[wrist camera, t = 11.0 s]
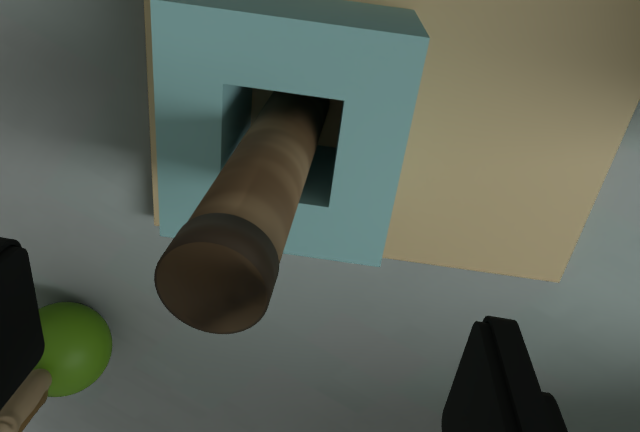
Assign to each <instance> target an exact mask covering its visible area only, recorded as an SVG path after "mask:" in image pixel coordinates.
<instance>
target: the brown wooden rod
mask: <svg viewBox="0 0 640 432" xmlns="http://www.w3.org/2000/svg"><path fill="white" fill-rule="evenodd" d="M329 102H330V101H329V98H322V97H315V96H307V95H300V94H293V93H286V92H279V91H273V93H272V94H271V96H270V97H269V99H268V100H267V102H266V103H265V105H264V107H263V108H262V110H261V111H260V113H259V114H258V116H257V117H256V119H255V120H254V122H253V123H252V125H251V126H250V128H249V129H248V131H247V132H246V134H245V135H244V137H243V138H242V140H241V141H240V143H239V144H238V146H237V147H236V149H235V150H234V152H233V153H232V155H231V156H230V158H229V159H228V161H227V162H226V164H225V166H224V167H223V169H222V170H221V172H220V173H219V175H218V176H217V178H216V179H215V181H214V182H213V184H212V185H211V187H210V188H209V190H208V191H207V193H206V194H205V196H204V197H203V199H202V200H201V202H200V203H199V205H198V206H197V208H196V209H195V211H194V212H193V214H192V215H191V217H190V218H189V220H188V221H187V223H185V224H184V225H183V226H182V227H181V229H180V230H179V231H178V233H177V234H176V236H175V237H174V239H173V240H172V242H171V243H170V245H169V246H168V248H167V249H166V251H165V252H164V254H163V255H162V257H161V258H160V260H159V262H158V263H157V266H156V269H155V276H154V281H155V287H156V290H157V293H158V295H159V298H160V299H161V301H162V303H163V304H164V305H165V307H166V308H167V309H168V310H169V311H170V312H171V313H172V314H173V315H174V316H175V317H176V318H178V319H179V320H180V321H182V322H183V323H185V324H187V325H189V326H191V327H193V328H195V329H198V330H201V331H204V332H209V333H215V334H232V333H237V332H241V331H244V330H246V329H248V328H251V327H252V326H254V325H255V324H256V323H257V322H259V321H260V320H261V318H262V317H263V316H264V314H265V312H266V311H267V308H268V305H269V302H270V298H271V295H272V292H273V289H274V286H275V282H276V279H277V276H278V272H279V263H280V260H281V257H282V254H283V251H284V247H285V244H286V241H287V238H288V235H289V232H290V229H291V226H292V222H293V219H294V216H295V213H296V210H297V207H298V204H299V200H300V197H301V194H302V191H303V188H304V185H305V182H306V178H307V175H308V172H309V169H310V166H311V163H312V160H313V156H314V153H315V150H316V147H317V144H318V141H319V138H320V134H321V131H322V128H323V125H324V122H325V119H326V116H327V112H328V109H329Z"/></svg>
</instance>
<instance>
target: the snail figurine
mask: <svg viewBox="0 0 640 432" xmlns="http://www.w3.org/2000/svg"><path fill="white" fill-rule="evenodd" d="M38 310H39V315H40V320H41V326H42V331H43V336H44V342H45V349H44V353H43V356H42V358H41V360H40V361H39V363H38V364H37V365H36V366H35V368H34V369H33V370H32V371H31V373H30V374H29V375H28V376H27V378H26V379H25V380H24V381H23V383H22V384H21V385H20V386H19V388H18V389H17V390H16V391H15V393H14V394H13V395H12V397H11V398H10V399H9V400H8V402H7V403H6V404H5V405H4V407H3V408H2V409H1V410H0V432H22V431H23V430H24V428H25V427H26V426H27V424H28V423H29V422H30V420H31V419H32V417H33V416H34V415H35V414H36V412H37V411H38V410H39V408H40V407H41V406H42V405H43V404H44V403H45V401H46V399H47V396H48V397H62V396H68V395H72V394H75V393H77V392H80V391H82V390H83V389H85V388H87V387H88V386H90V385H91V384H92V383H94V382H95V381H96V380H97V379H98V378H99V377H100V375H101V374H102V373H103V371H104V370H105V368H106V366H107V364H108V362H109V359H110V356H111V352H112V337H111V333H110V330H109V327H108V325H107V323H106V322H105V320H104V319H103V318H102V317H101V316H100V315H99V314H98V313H97V312H96V311H94V310H93V309H91V308H89V307H87V306H85V305H82V304H79V303H73V302H60V303H54V304H50V305H47V306H44V307H42V308H40V309H38Z"/></svg>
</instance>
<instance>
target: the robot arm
mask: <svg viewBox="0 0 640 432" xmlns="http://www.w3.org/2000/svg"><path fill="white" fill-rule="evenodd" d="M44 349H45V342H44V336H43V331H42V326H41V320H40V315H39V310H38V304H37V299H36V294H35V288H34V283H33V278H32V272H31V267H30V262H29V256H28V253H27V251H26V249H24V248H22V247H21V244H20V243H19V242H18V241H17V240H14V239H8V238H2V237H0V410H1V409H2V408H3V407H4V405H5V404H6V403H7V402H8V400H9V399H10V398H11V397H12V395H13V394H14V393H15V391H16V390H17V389H18V388H19V386H20V385H21V384H22V383H23V381H24V380H25V379H26V378H27V376H28V375H29V374H30V373H31V371H32V370H33V369H34V368H35V366H36V365H37V364H38V363H39V361H40V360H41V358H42V356H43V353H44ZM442 432H568V431H567V428H566V426H565V423H564V420H563V418H562V415H561V412H560V410H559V407H558V404H557V402H556V400H555V398H554V397H553V396H552V395H551V394H550V393H546V392H541V389H540V386H539V383H538V380H537V377H536V374H535V371H534V369H533V366H532V363H531V360H530V357H529V354H528V351H527V348H526V346H525V343H524V340H523V337H522V334H521V331H520V328H519V325H518V323H517V322H516V321H515V320H511V319H505V318H499V317H492V316H486V317H485V318H484V320H483V322H478V321H476V322H475V323H474V324H473V326H472V329H471V332H470V335H469V338H468V341H467V344H466V347H465V349H464V352H463V355H462V358H461V361H460V364H459V367H458V370H457V373H456V375H455V378H454V381H453V384H452V387H451V390H450V393H449V396H448V399H447V401H446V404H445V407H444V410H443V415H442Z"/></svg>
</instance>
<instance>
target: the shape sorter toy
mask: <svg viewBox="0 0 640 432" xmlns="http://www.w3.org/2000/svg"><path fill="white" fill-rule="evenodd" d="M144 16H145V37H146V58H147V80H148V101H149V122H150V143H151V164H152V185H153V206H154V225H155V226H160V236H164V237H171V238H174V237H175V236H176V234H177V233H178V231H179V230H180V229H181V227H182V226H183V225H184V224H185V223H187V221H188V220H189V218H190V217H191V215H192V214H193V212H194V211H195V209H196V208H197V206H198V205H199V203H200V202H201V200H202V199H203V197H204V196H205V194H206V193H207V191H208V190H209V188H210V187H211V185H212V184H213V182H214V181H215V179H216V178H217V176H218V175H219V173H220V172H221V170H222V169H223V167H224V166H225V164H226V162H227V161H228V159H229V158H230V156H231V155H232V153H233V152H234V150H235V149H236V147H237V146H238V144H239V143H240V141H241V140H242V138H243V137H244V135H245V134H246V132H247V131H248V129H249V128H250V126H251V125H252V123H253V122H254V120H255V119H256V117H257V116H258V114H259V113H260V111H261V110H262V108H263V107H264V105H265V103H266V102H267V100H268V99H269V97H270V96H271V94H272V93H273V91H279V92H286V93H293V94H300V95H307V96H315V97H322V98H329V101H330V102H329V109H328V112H327V116H326V119H325V122H324V125H323V128H322V131H321V134H320V138H319V141H318V144H317V147H316V150H315V153H314V156H313V160H312V163H311V166H310V169H309V172H308V175H307V178H306V182H305V185H304V188H303V191H302V194H301V197H300V200H299V204H298V207H297V210H296V213H295V216H294V219H293V222H292V226H291V229H290V232H289V235H288V238H287V241H286V244H285V247H284V251H283V253H284V254H291V255H298V256H305V257H312V258H319V259H326V260H333V261H340V262H347V263H354V264H361V265H368V266H376V267H380V265H381V260H382V258H388V259H395V260H402V261H409V262H416V263H424V264H431V265H438V266H445V267H452V268H459V269H466V270H473V271H480V272H487V273H494V274H501V275H508V276H515V277H522V278H530V279H537V280H544V281H551V282H558V283H559V282H560V280H561V277H562V275H563V273H564V271H565V268H566V266H567V264H568V262H569V259H570V257H571V255H572V252H573V250H574V248H575V246H576V243H577V241H578V239H579V236H580V234H581V232H582V230H583V227H584V225H585V223H586V221H587V218H588V216H589V214H590V211H591V209H592V207H593V205H594V202H595V200H596V198H597V195H598V193H599V191H600V189H601V186H602V184H603V182H604V179H605V177H606V175H607V173H608V170H609V168H610V166H611V164H612V161H613V159H614V157H615V154H616V152H617V150H618V148H619V145H620V143H621V141H622V138H623V136H624V134H625V132H626V129H627V127H628V125H629V122H630V120H631V118H632V116H633V113H634V111H635V109H636V107H637V104H638V102H639V100H640V0H144Z"/></svg>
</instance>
